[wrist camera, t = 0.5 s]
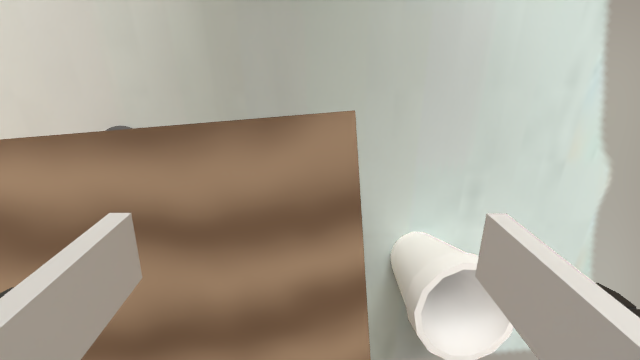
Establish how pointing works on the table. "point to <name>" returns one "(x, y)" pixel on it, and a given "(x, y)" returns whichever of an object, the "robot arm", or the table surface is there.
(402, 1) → the table surface
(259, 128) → the stool
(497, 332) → the foam cup
